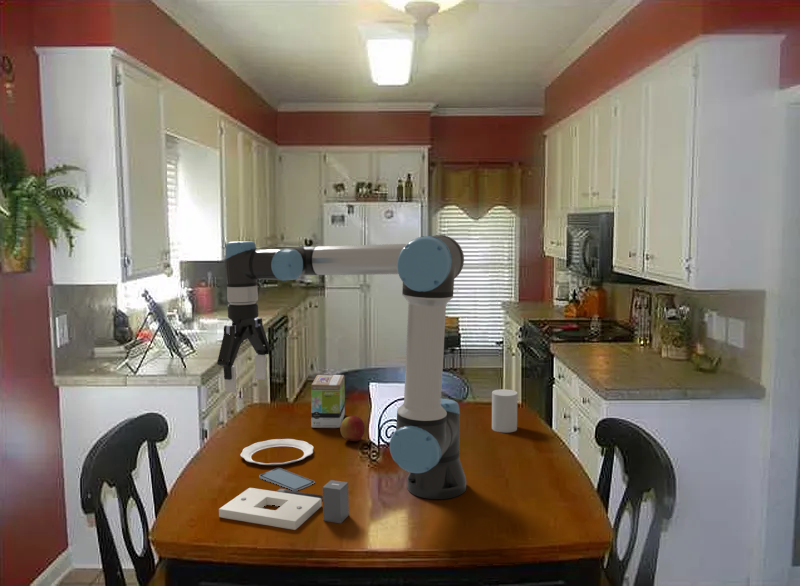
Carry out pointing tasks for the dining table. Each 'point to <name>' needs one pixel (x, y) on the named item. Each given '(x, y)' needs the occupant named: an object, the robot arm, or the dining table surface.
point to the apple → (352, 428)
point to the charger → (335, 501)
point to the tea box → (327, 401)
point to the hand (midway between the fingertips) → (246, 385)
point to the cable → (300, 493)
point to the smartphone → (286, 479)
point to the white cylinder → (504, 410)
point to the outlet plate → (286, 516)
